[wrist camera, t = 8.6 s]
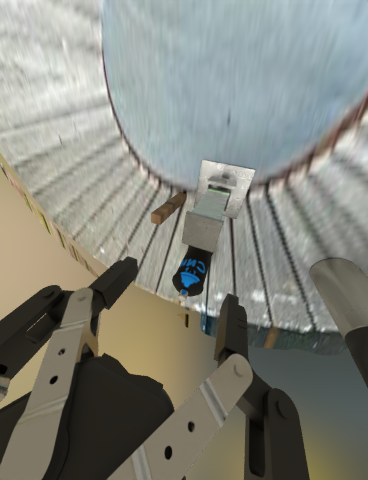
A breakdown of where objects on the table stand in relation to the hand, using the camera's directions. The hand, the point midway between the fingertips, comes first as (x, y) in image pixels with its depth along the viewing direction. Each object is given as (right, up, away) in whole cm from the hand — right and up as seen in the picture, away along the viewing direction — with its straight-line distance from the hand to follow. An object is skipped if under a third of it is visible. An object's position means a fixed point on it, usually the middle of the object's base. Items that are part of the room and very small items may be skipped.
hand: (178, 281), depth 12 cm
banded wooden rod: (0, +16, +29) cm, 33 cm away
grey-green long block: (+8, +12, +19) cm, 24 cm away
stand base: (+10, +16, +24) cm, 31 cm away
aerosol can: (+6, +1, +36) cm, 37 cm away
